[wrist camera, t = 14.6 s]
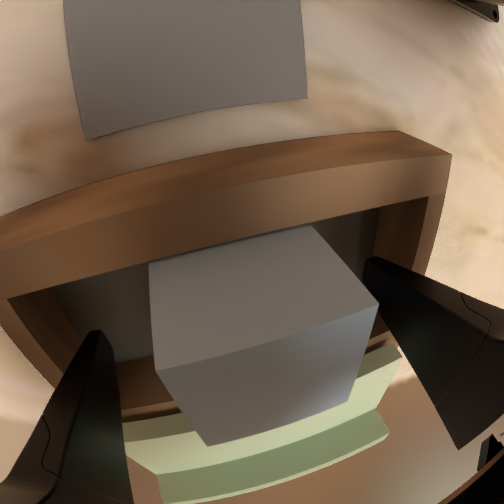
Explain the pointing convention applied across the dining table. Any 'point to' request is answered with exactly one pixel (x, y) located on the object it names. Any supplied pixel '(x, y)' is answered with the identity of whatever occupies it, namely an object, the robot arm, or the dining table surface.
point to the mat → (180, 57)
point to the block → (258, 331)
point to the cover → (262, 443)
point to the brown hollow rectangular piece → (204, 239)
